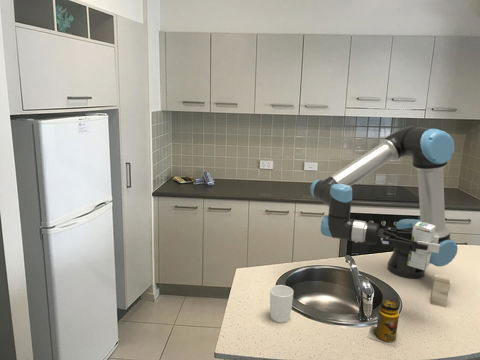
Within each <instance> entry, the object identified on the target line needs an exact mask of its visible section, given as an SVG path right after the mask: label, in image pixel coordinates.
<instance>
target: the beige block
mask: <svg viewBox="0 0 480 360" xmlns="http://www.w3.org/2000/svg"><path fill="white" fill-rule="evenodd" d="M450 284H451V281H450V277H449V276H448V275H443V274H436V273H434V274H433V278H432V285H431V292H430V297H429V299H430V305H432V306H438V307H442V308H446V307H447V302H448V296H449V290H450Z"/></svg>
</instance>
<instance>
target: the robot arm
mask: <svg viewBox="0 0 480 360" xmlns="http://www.w3.org/2000/svg"><path fill="white" fill-rule="evenodd" d="M454 152H455V142H454V139H453V137H452V136H451V135H450V134H449V133H448V132H446V131H444V130H440V129H438V128H429V127H422V126H418V125H417V126H416V125H412V126H411V125H410V126H406V127H403V128H400V129H399V130H396V131H395V132H393V133H391V134H389V135H387V136H385V138H383V139H381V141H380V144H379V145H376V146H375V147H374V148H372V149H370V150H369V151H367V152H366V153H364V154H362V155H361V156H360V157H358V158H356V159H355V160H353V161H352V162H350V163H349V164H347V165H346V166H344V167H342V168H341V169H339V170H338V171H336V172H335V173H333V174H331V175H329V177H326V178H325V179H316V180H315V181H313V182H311V184H310V186H309V187H310V188H309V190H310V194H311V195H312V197H313V198H315V200H317V201H319V202H322V203H323V204H324V205H325V206H327V207H328V214H327V215H323V216H322V219H321V224H320V233H321V235H323V236H325V237H330V238H333V239H339V240H345V241H351V242H355V244H357V243H364V242H365V244H367V245H372V246H375V245H377V243H378V242H380V243H381V246H383V247H391V248H393V251H392V254H391V256H390V257H389V260H388V261H387V270H388V271H389V272H390V273H392V274H394V275H395V276H396V275H397V276H399V277H402V278H407V279H420V278H423V277H424V276H425V274H426V273H425V272H426V269H425V270H422V269H418V268H414V267H411V266H408V265H407V262H408V255H409V251H413V252H416V249H418V250H423V251H429V252H431V257H430V263H429V265H430V264H431V265H433V266H435V267H444V266H447V265H449V264H450V263H451V262H452V261H453V260H454V259H455V258H456V256H457V254H458V249H459V247H458V245H457V243H456V242H455V241H454V240H453V239H451V230H450V228H448V227H447V226H446V215H445V213H446V211H445V191H444V188H445V187H444V186H445V184H444V168H445V167H446V166H447V165H448V162H449V161H450V160H451V159H452V155H454ZM403 157H411V161H412V162H411V163H412V167H413V168H414V169H415V170H417V184H418V200H419V217H420V218H419V219H415V218H406V219H405V218H403V219H400V220H399V221H397V224H396V227H390V226H385V228H380V225H379V223H376V222H371V221H369V222H367V221H366V220H365V221H364V220H359V219H358V220H357V219H352V218H350V217H351V211H352V210H351V209H352V202H353V201H352V200H353V187H352V186H353V185H355V184H356V183H358V182H360V181H361V180H362V179H364V178H365V177H367V176H369V175H370V174H371V173H373V172H375V171H376V170H378V169H380V168H381V167H383V166H384V165H386V164H387V163H389V162H390V161H397V160H399V159H401V158H403ZM418 222H424V223H428V224H432V225H434V226H436V228H435V234H434V240H433V243H428V242H422V241H417V242H415V241H412V240H411V237H412V231H413V226H414V225H415V224H416V223H418Z"/></svg>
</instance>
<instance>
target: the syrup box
mask: <svg viewBox="0 0 480 360" xmlns="http://www.w3.org/2000/svg"><path fill="white" fill-rule="evenodd" d="M435 228H436V226H434V225H432V224H428V223H424V222H418V223H416V224H415V225H414V226H413V231H412V237H411V240H412V241H415V242H417V241H422V242H428V243H433V240H434V234H435ZM430 257H431V252H429V251H423V250H418V249H416V252H413V251H409V255H408V262H407V265H408V266H411V267H414V268H418V269H422V270H425V271H426V269H427V268H428V267H429V266H430Z"/></svg>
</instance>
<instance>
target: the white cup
mask: <svg viewBox="0 0 480 360" xmlns="http://www.w3.org/2000/svg"><path fill="white" fill-rule="evenodd" d="M293 300H294V289H293V288H291V287H290V286H287V285H285V284H278V285H273V286H271V287H270V289H269V309H270V311H269V313H270V314H269V316H270V319H271V320H272V321H274V322H275V323H276V322H277V323H281V324H282V323H286V322H288V321H290V320H291V312H292V309H293Z"/></svg>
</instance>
